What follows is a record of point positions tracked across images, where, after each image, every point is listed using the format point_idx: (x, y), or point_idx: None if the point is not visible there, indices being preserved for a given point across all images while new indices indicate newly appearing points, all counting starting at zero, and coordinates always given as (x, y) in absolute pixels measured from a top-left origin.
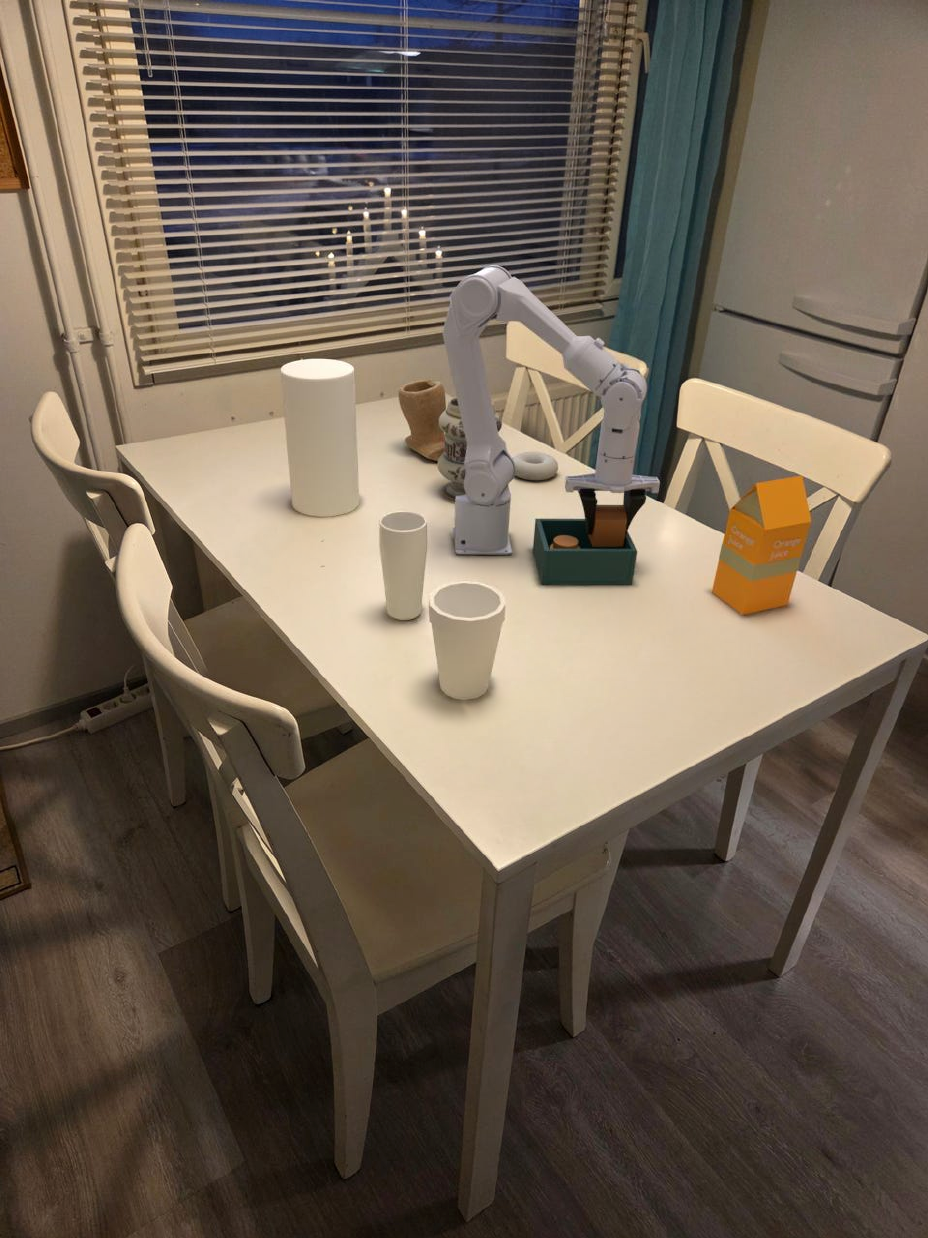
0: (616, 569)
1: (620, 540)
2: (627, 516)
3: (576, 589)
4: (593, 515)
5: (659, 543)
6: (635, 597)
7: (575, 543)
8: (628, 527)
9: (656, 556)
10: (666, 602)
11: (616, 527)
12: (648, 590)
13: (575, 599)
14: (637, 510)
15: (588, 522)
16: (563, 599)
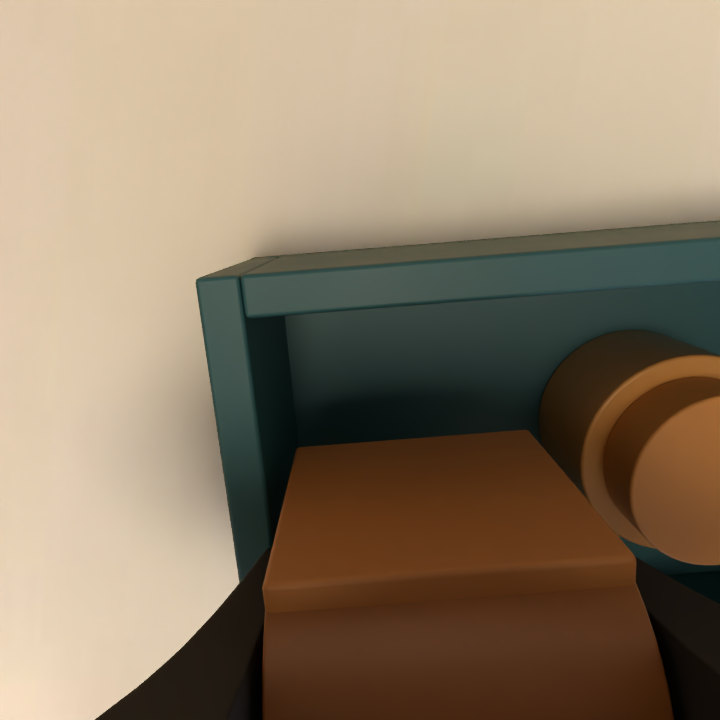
0: (356, 255)
1: (320, 465)
2: (251, 649)
3: (579, 181)
4: (672, 625)
5: (68, 705)
6: (247, 112)
7: (663, 443)
8: (243, 579)
9: (92, 578)
10: (67, 64)
11: (373, 525)
12: (164, 203)
13: (606, 58)
14: (105, 715)
15: (661, 575)
16: (677, 52)
